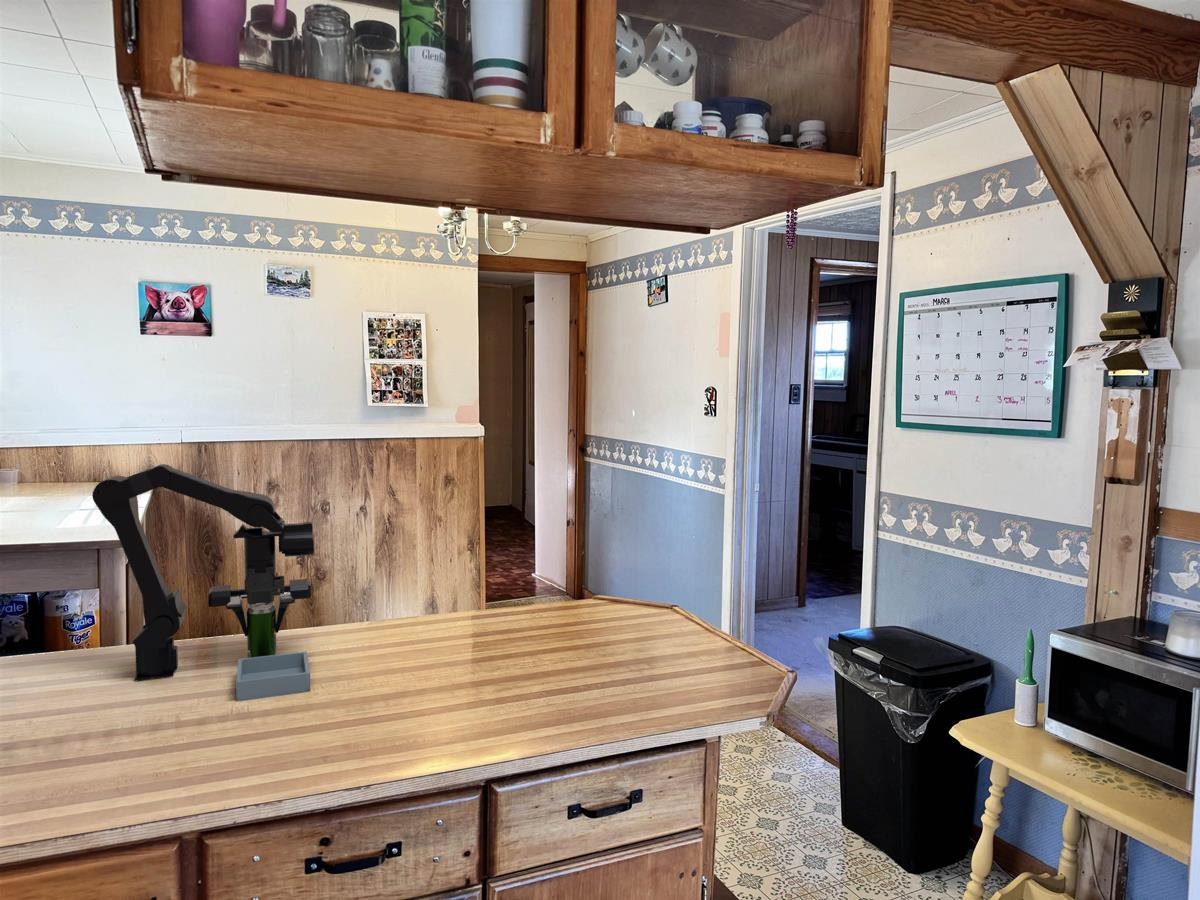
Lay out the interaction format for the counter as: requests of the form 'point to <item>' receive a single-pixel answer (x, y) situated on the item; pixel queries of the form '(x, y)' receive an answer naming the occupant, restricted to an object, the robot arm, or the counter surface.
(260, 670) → the box
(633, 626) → the counter surface
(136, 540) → the robot arm
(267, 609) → the beer can
